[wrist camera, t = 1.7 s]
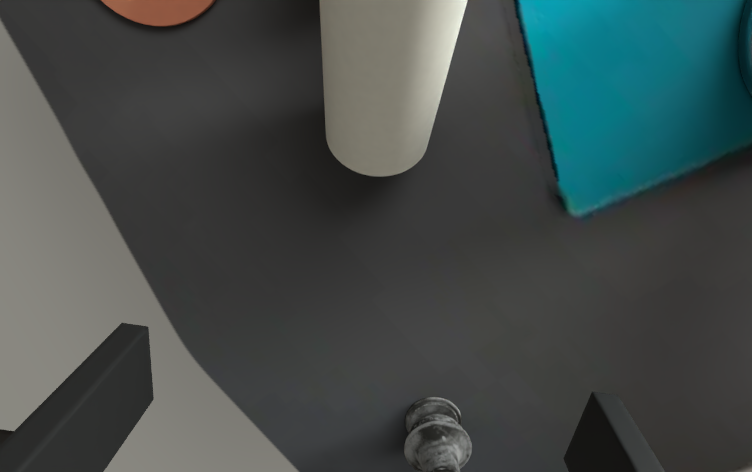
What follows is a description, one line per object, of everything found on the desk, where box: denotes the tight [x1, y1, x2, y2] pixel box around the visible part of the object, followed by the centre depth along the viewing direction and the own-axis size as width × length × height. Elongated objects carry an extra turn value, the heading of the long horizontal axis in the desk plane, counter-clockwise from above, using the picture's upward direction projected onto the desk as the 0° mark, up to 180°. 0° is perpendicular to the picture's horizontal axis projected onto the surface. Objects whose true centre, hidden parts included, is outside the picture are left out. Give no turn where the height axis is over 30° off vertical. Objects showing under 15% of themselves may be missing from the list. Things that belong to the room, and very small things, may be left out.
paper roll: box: [319, 0, 467, 177], centre depth 25 cm, size 16×7×16 cm, turn 174°
